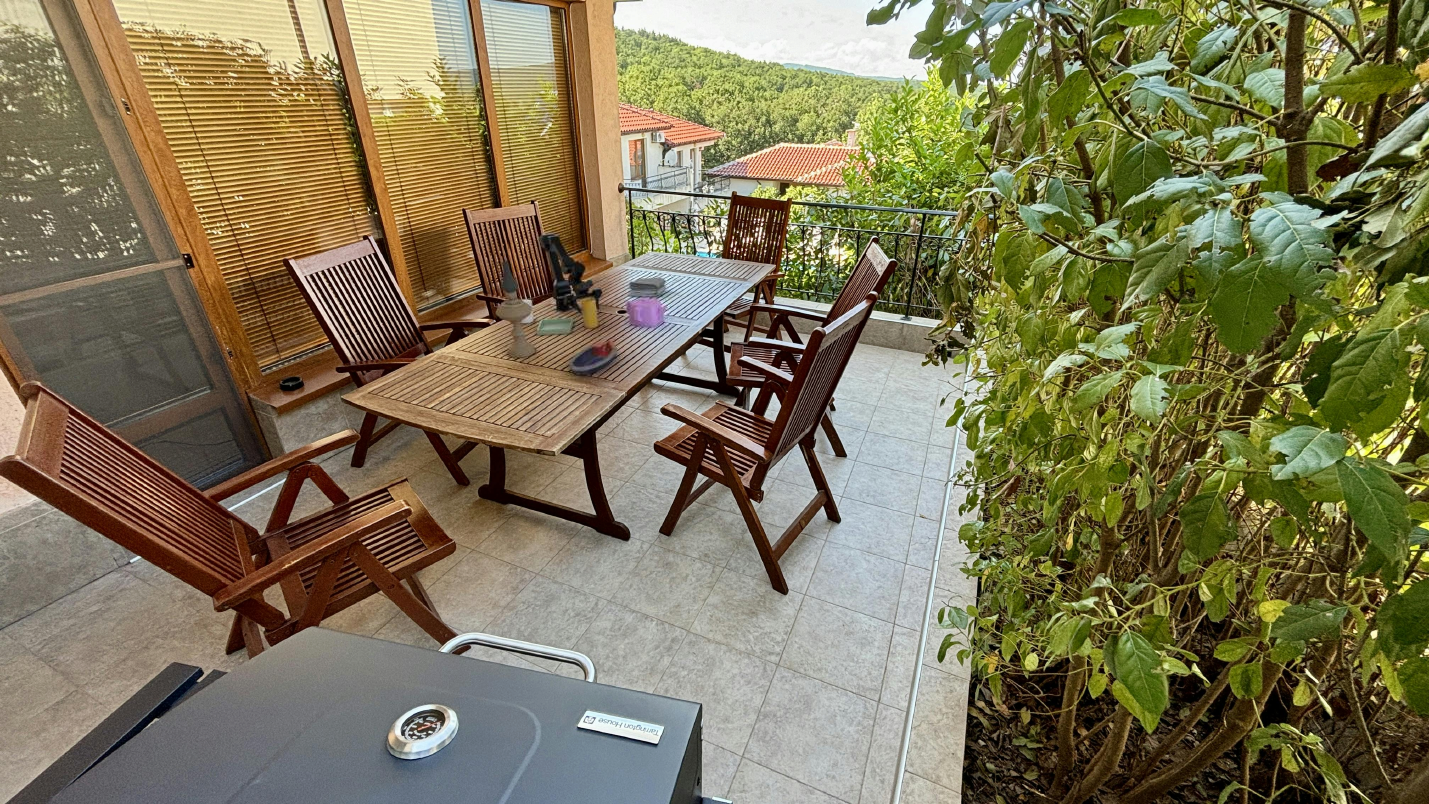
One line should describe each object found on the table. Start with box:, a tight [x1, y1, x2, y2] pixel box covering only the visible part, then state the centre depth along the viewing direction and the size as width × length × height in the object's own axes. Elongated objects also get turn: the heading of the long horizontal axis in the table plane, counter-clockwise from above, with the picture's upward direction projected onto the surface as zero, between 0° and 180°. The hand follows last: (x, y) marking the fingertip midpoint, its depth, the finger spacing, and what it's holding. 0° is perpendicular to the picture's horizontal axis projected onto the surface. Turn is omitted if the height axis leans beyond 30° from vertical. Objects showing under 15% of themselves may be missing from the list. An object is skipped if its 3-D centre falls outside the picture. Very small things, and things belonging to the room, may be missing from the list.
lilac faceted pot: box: [625, 297, 668, 328], centre depth 291 cm, size 17×17×12 cm
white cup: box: [521, 299, 535, 324], centre depth 297 cm, size 8×8×10 cm
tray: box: [536, 317, 574, 336], centre depth 288 cm, size 15×15×2 cm
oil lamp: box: [495, 260, 536, 358], centre depth 253 cm, size 15×15×40 cm
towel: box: [628, 277, 667, 298], centre depth 336 cm, size 15×18×8 cm
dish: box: [568, 340, 618, 376], centre depth 248 cm, size 16×31×5 cm, turn 160°
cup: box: [580, 297, 599, 329], centre depth 288 cm, size 7×7×13 cm
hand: (590, 311), depth 287 cm, fingers open, 9 cm apart
